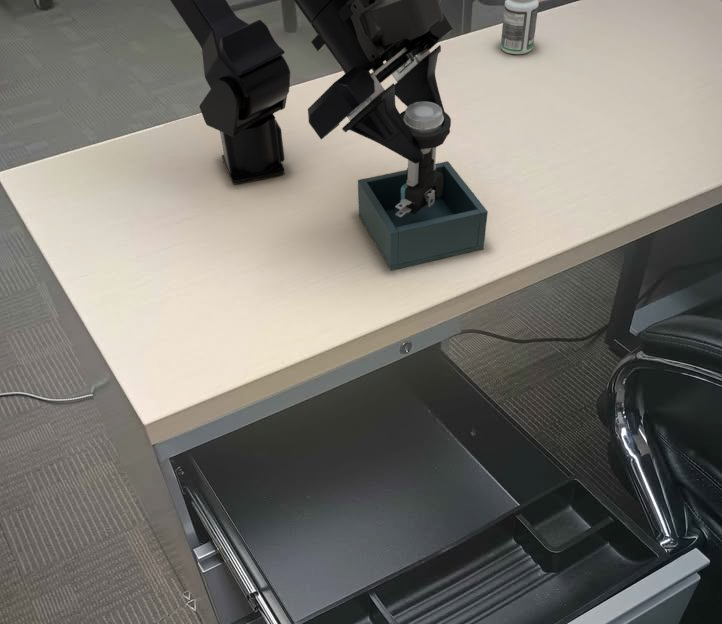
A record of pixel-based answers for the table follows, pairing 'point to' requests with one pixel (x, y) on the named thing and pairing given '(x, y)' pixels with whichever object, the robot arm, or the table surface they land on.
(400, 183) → the bin
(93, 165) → the table surface
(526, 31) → the pill bottle
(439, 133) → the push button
